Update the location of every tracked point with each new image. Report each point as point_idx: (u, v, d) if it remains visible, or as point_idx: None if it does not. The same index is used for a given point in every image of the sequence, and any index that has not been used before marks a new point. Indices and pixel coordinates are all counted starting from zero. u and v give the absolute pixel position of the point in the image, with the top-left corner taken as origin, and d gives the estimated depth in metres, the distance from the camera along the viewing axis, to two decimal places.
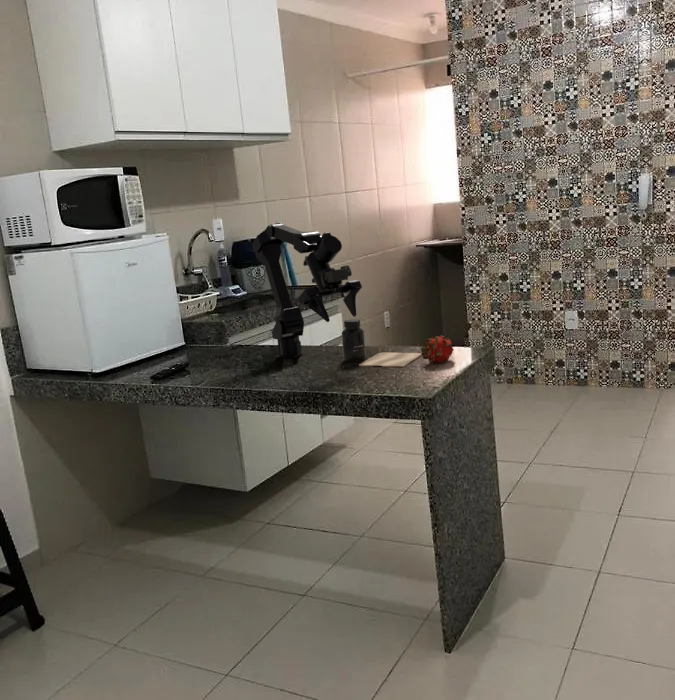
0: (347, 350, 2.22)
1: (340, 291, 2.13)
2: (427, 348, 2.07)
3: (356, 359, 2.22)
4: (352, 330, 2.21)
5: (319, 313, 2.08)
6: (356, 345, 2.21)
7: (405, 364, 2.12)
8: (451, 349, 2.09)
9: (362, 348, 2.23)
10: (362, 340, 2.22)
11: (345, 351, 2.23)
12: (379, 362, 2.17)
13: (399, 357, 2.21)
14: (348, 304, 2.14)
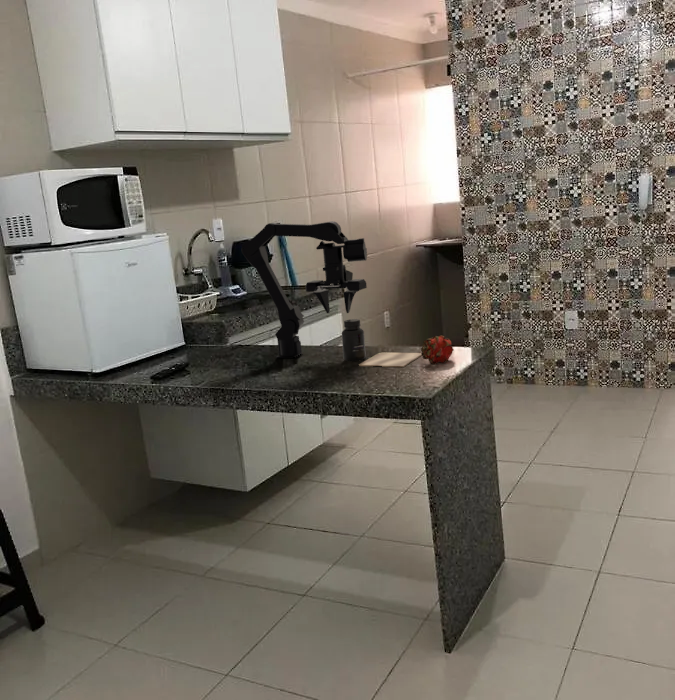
0: (347, 350, 2.22)
1: None
2: (427, 348, 2.07)
3: (356, 359, 2.22)
4: (352, 330, 2.21)
5: (349, 303, 2.29)
6: (356, 345, 2.21)
7: (405, 364, 2.12)
8: (451, 349, 2.09)
9: (362, 348, 2.23)
10: (362, 340, 2.22)
11: (345, 351, 2.23)
12: (379, 362, 2.17)
13: (399, 357, 2.21)
14: (325, 300, 2.33)
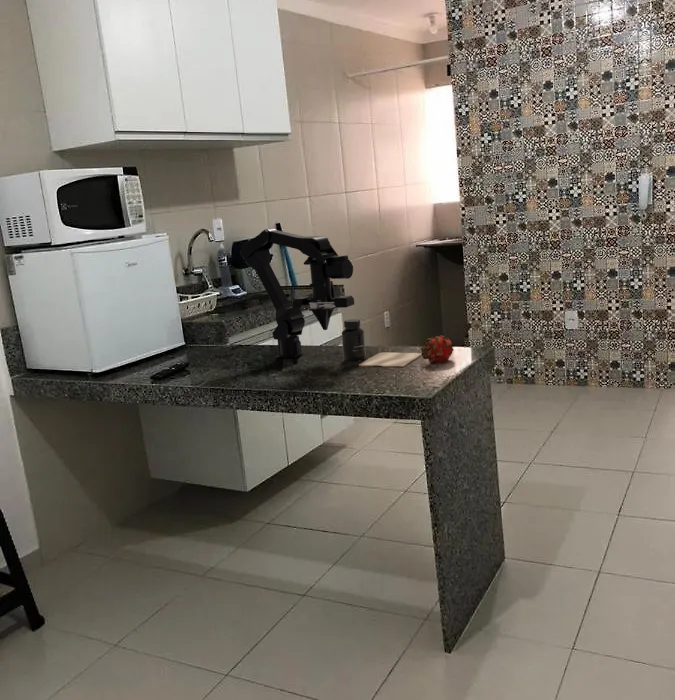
0: (347, 350, 2.22)
1: None
2: (427, 348, 2.07)
3: (356, 359, 2.22)
4: (352, 330, 2.21)
5: (327, 320, 2.26)
6: (356, 345, 2.21)
7: (405, 364, 2.12)
8: (451, 349, 2.09)
9: (362, 348, 2.23)
10: (362, 340, 2.22)
11: (345, 351, 2.23)
12: (379, 362, 2.17)
13: (399, 357, 2.21)
14: (321, 316, 2.27)
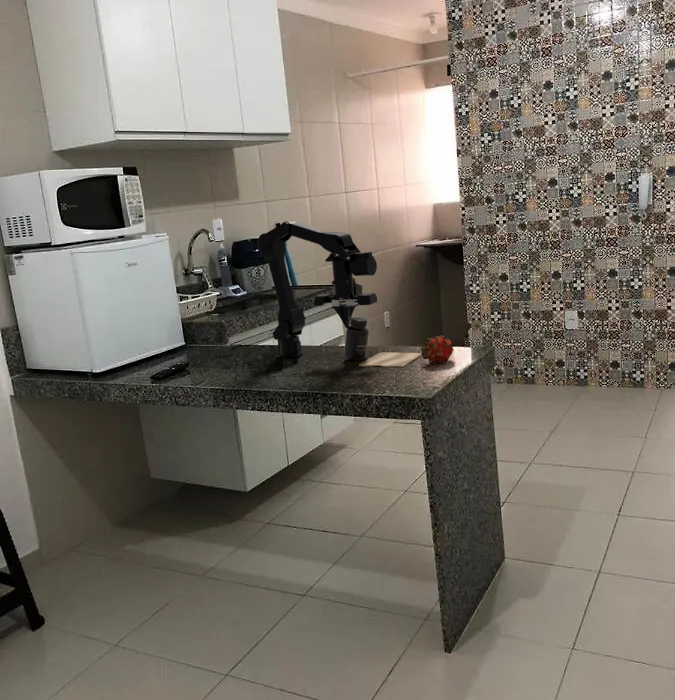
0: (350, 348, 2.22)
1: None
2: (427, 348, 2.07)
3: (356, 358, 2.22)
4: (358, 329, 2.21)
5: (348, 317, 2.22)
6: (359, 344, 2.21)
7: (405, 364, 2.12)
8: (451, 349, 2.09)
9: (364, 348, 2.22)
10: (366, 340, 2.22)
11: (347, 348, 2.22)
12: (379, 362, 2.17)
13: (399, 357, 2.21)
14: None
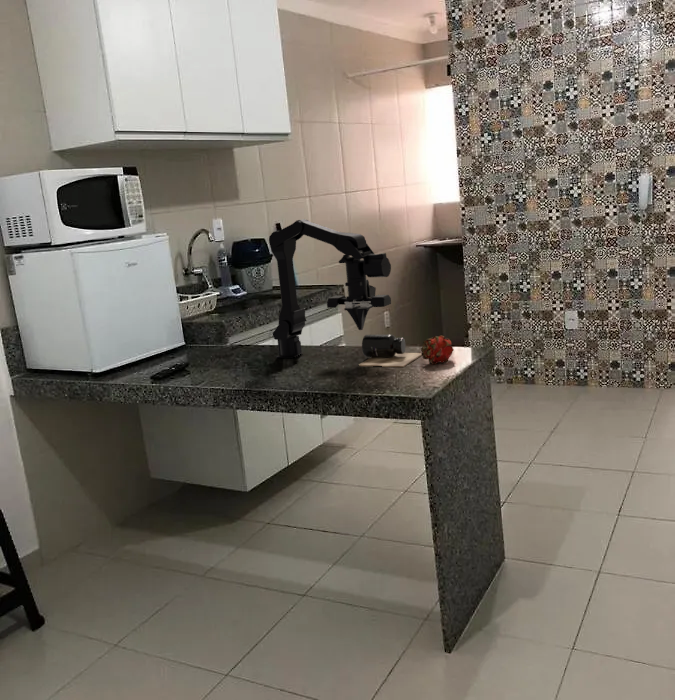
0: (372, 341, 2.21)
1: None
2: (427, 348, 2.07)
3: (363, 349, 2.22)
4: (392, 347, 2.19)
5: (362, 319, 2.20)
6: (377, 350, 2.20)
7: (405, 364, 2.12)
8: (451, 349, 2.09)
9: (374, 355, 2.22)
10: (382, 356, 2.21)
11: (372, 339, 2.21)
12: (379, 362, 2.17)
13: (399, 357, 2.21)
14: (357, 316, 2.21)
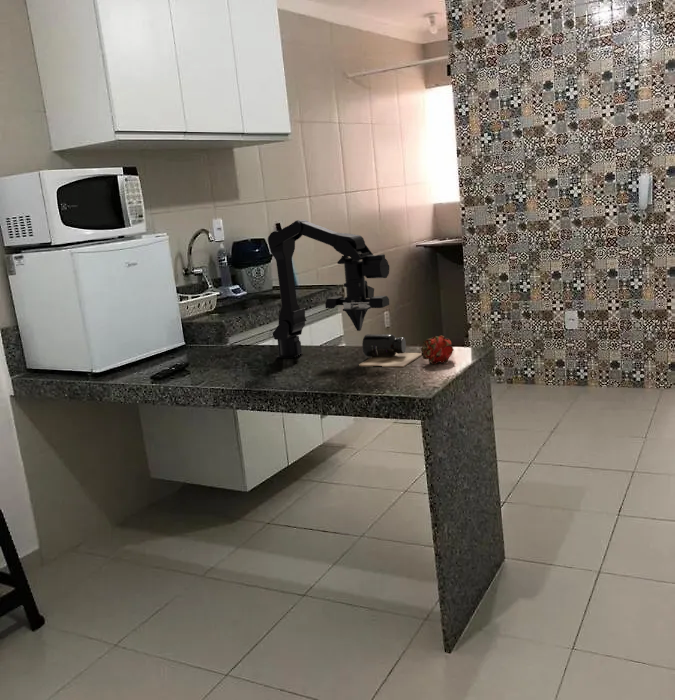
0: (373, 339, 2.21)
1: None
2: (427, 348, 2.07)
3: (363, 347, 2.22)
4: (392, 345, 2.20)
5: (361, 320, 2.21)
6: (377, 348, 2.20)
7: (405, 364, 2.12)
8: (451, 349, 2.09)
9: (374, 354, 2.22)
10: (382, 354, 2.21)
11: (372, 337, 2.22)
12: (379, 362, 2.17)
13: (399, 357, 2.21)
14: (355, 317, 2.21)
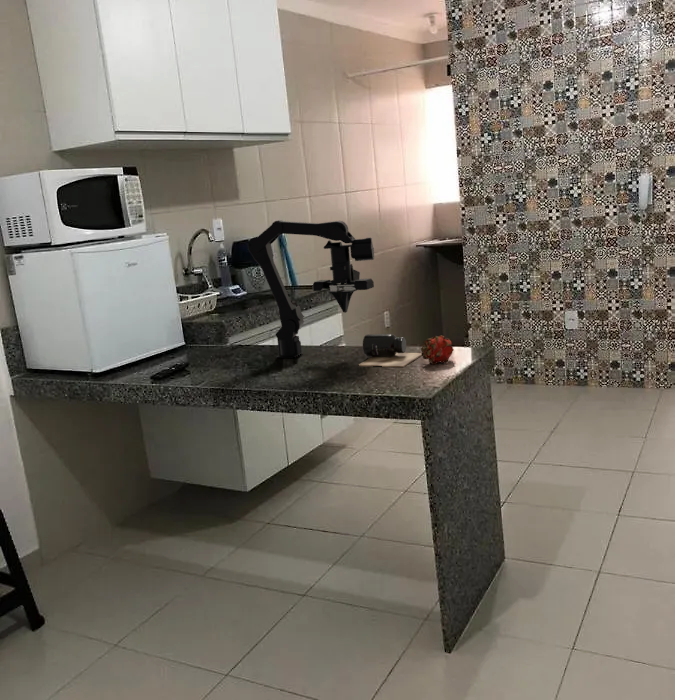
0: (373, 338, 2.22)
1: None
2: (427, 348, 2.07)
3: (364, 346, 2.22)
4: (393, 344, 2.20)
5: (346, 302, 2.31)
6: (377, 347, 2.21)
7: (405, 364, 2.12)
8: (451, 349, 2.09)
9: (374, 353, 2.22)
10: (382, 354, 2.21)
11: (373, 336, 2.22)
12: (379, 362, 2.17)
13: (399, 357, 2.21)
14: (341, 299, 2.31)
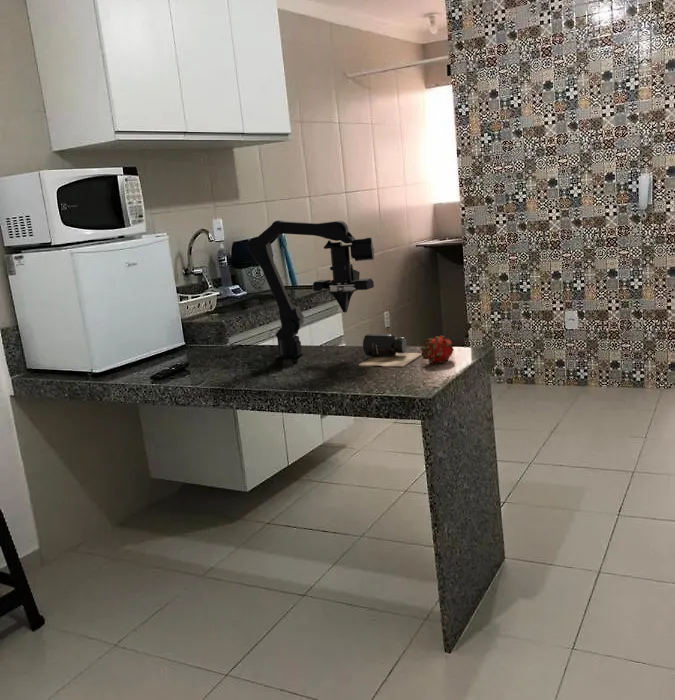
0: (374, 338, 2.22)
1: None
2: (427, 348, 2.07)
3: (364, 346, 2.22)
4: (393, 344, 2.20)
5: (346, 302, 2.31)
6: (377, 347, 2.21)
7: (405, 364, 2.12)
8: (451, 349, 2.09)
9: (374, 353, 2.22)
10: (382, 353, 2.21)
11: (373, 336, 2.23)
12: (379, 362, 2.17)
13: (399, 357, 2.21)
14: (341, 299, 2.31)
